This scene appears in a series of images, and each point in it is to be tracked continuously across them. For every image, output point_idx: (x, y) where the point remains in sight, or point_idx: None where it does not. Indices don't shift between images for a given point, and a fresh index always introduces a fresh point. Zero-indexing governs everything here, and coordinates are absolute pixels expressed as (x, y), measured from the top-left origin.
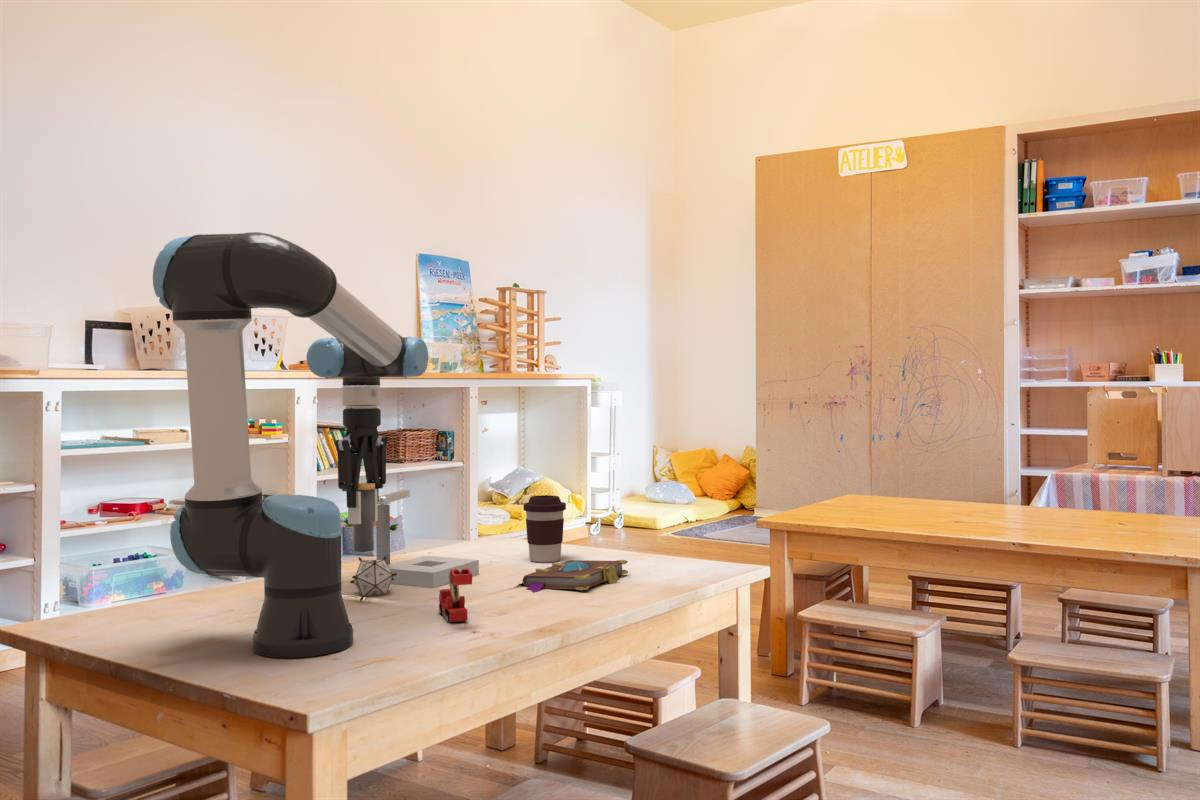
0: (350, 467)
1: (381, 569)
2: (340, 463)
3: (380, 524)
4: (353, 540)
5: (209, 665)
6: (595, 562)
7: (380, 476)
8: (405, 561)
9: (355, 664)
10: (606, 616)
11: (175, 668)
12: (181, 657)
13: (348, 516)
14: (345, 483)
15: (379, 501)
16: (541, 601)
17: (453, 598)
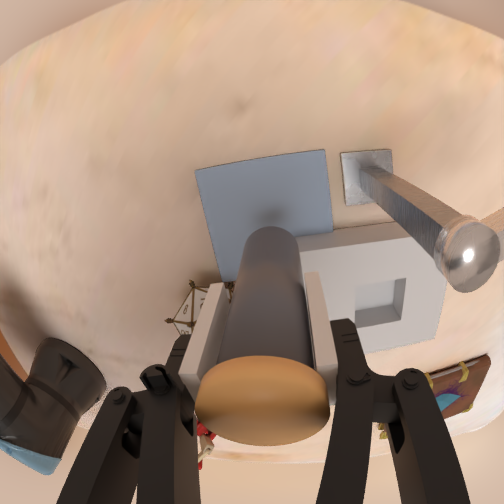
0: (125, 499)
1: None
2: (75, 493)
3: (408, 220)
4: (244, 250)
5: (20, 344)
6: (468, 395)
7: (391, 438)
8: (383, 249)
9: (92, 409)
10: (298, 460)
11: (6, 331)
12: (6, 315)
13: (204, 300)
14: (127, 427)
15: (440, 264)
16: (325, 426)
17: (199, 436)
